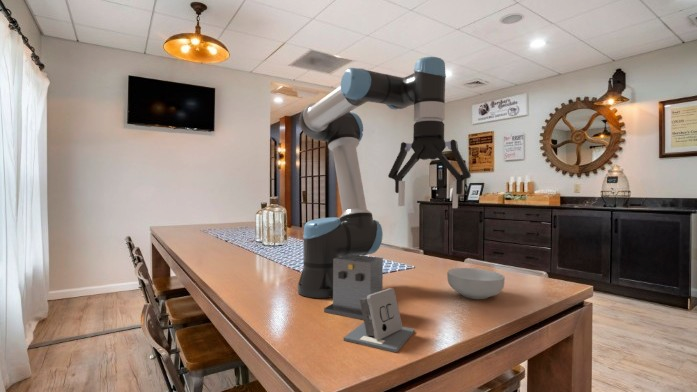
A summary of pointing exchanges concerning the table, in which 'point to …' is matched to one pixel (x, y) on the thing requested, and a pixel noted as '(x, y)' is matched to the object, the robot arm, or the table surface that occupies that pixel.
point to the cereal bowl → (475, 282)
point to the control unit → (354, 283)
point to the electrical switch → (381, 314)
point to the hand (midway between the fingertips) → (427, 207)
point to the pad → (386, 343)
